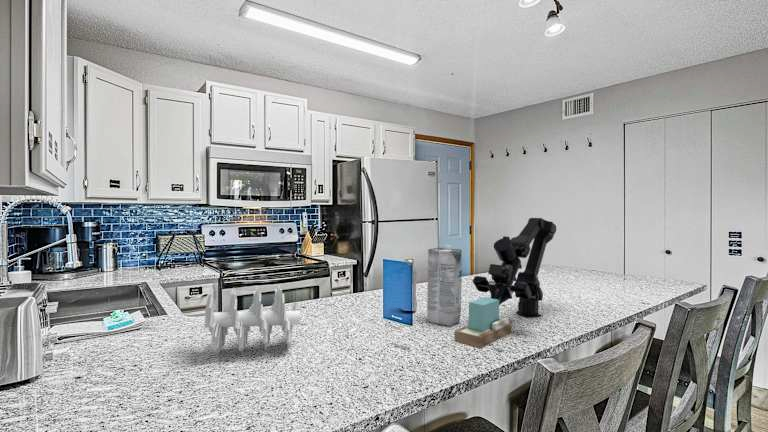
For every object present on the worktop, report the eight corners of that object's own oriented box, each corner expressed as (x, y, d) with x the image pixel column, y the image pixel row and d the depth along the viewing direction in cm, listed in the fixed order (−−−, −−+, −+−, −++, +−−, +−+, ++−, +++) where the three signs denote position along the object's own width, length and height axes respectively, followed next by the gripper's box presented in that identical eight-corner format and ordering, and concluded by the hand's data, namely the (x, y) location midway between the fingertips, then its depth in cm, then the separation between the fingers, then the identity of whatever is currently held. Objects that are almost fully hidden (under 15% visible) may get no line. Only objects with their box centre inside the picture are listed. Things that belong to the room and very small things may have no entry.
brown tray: (486, 326, 135) (487, 311, 134) (511, 332, 129) (511, 316, 128) (454, 340, 120) (454, 324, 120) (480, 348, 114) (481, 330, 114)
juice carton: (451, 328, 132) (452, 247, 131) (424, 322, 138) (425, 244, 138) (463, 322, 139) (464, 245, 138) (437, 316, 146) (438, 243, 145)
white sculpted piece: (298, 364, 111) (200, 370, 103) (294, 321, 126) (209, 323, 118) (304, 313, 103) (199, 315, 96) (300, 273, 118) (209, 272, 111)
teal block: (484, 321, 129) (484, 297, 129) (498, 324, 126) (499, 299, 126) (468, 328, 122) (469, 302, 122) (483, 331, 119) (483, 305, 118)
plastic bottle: (397, 312, 150) (397, 259, 150) (404, 308, 156) (405, 257, 156) (412, 314, 147) (413, 261, 147) (419, 310, 153) (420, 259, 153)
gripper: (475, 252, 138) (457, 288, 130) (528, 257, 125) (512, 298, 117) (486, 272, 144) (469, 308, 136) (537, 279, 131) (523, 319, 123)
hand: (492, 308), depth 128 cm, fingers closed
